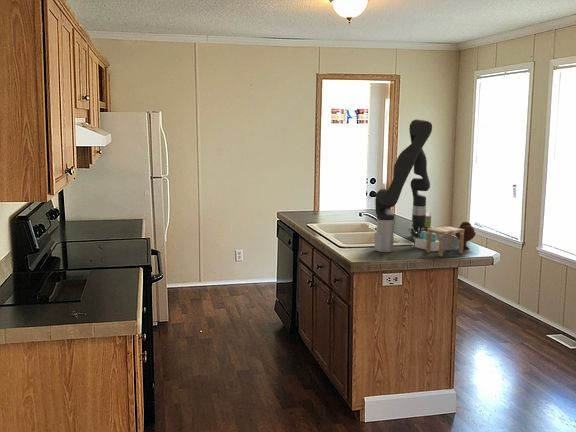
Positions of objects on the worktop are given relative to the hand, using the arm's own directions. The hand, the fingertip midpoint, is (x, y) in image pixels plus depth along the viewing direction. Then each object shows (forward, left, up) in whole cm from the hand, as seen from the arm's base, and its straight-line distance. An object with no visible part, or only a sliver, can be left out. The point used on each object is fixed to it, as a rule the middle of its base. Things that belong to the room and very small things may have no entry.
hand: (417, 244), depth 343 cm
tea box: (+19, +18, -1) cm, 26 cm away
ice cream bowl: (+18, -18, -1) cm, 25 cm away
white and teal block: (0, -8, -1) cm, 8 cm away
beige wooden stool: (0, -21, -1) cm, 21 cm away
